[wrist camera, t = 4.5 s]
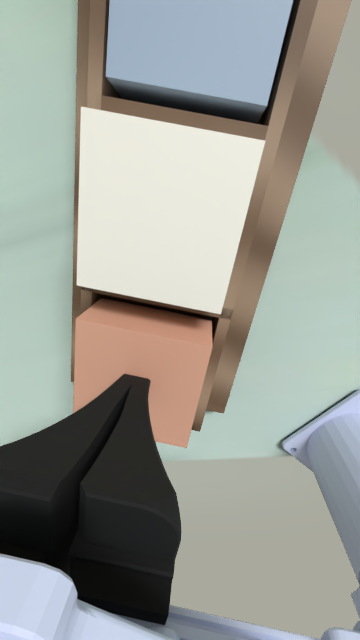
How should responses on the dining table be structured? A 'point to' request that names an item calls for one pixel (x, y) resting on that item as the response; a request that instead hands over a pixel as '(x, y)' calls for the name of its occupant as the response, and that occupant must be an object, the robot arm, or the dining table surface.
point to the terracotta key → (144, 361)
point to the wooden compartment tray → (271, 181)
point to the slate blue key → (197, 53)
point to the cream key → (161, 208)
